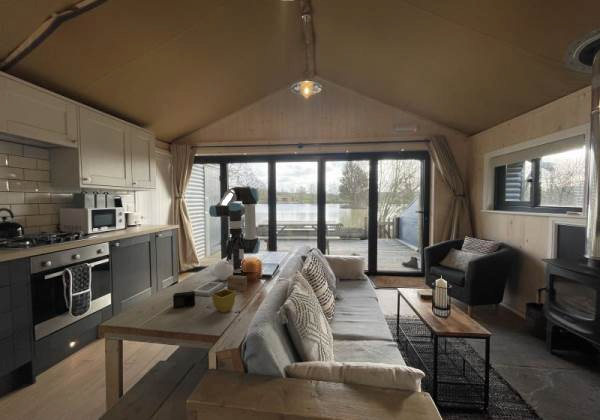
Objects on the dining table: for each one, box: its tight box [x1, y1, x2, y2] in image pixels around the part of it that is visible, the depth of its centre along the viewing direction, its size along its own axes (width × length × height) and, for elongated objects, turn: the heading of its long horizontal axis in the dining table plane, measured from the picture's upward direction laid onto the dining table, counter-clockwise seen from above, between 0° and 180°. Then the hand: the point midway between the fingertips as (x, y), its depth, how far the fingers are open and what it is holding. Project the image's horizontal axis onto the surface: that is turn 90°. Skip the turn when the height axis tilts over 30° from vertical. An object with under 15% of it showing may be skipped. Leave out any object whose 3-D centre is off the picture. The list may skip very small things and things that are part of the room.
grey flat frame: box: [192, 281, 227, 297], centre depth 170 cm, size 20×14×2 cm
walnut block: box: [226, 274, 248, 292], centre depth 170 cm, size 4×11×8 cm, turn 75°
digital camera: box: [172, 290, 196, 310], centre depth 145 cm, size 10×5×7 cm, turn 106°
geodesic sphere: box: [213, 260, 235, 281], centre depth 189 cm, size 14×14×14 cm
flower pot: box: [211, 288, 237, 314], centre depth 140 cm, size 9×9×9 cm
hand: (236, 261), depth 169 cm, fingers open, 13 cm apart
